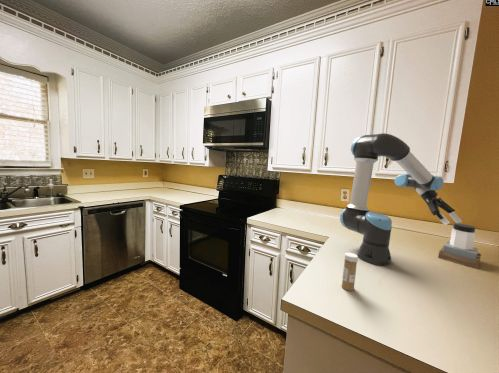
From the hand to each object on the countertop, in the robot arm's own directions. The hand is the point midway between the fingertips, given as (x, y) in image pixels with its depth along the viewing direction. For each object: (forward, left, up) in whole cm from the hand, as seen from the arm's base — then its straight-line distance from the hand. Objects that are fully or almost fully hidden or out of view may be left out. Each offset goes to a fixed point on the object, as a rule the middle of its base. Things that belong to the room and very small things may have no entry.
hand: (453, 223), depth 118 cm
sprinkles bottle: (-71, -44, -19) cm, 86 cm away
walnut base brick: (+2, -5, -19) cm, 19 cm away
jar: (+2, -4, -12) cm, 13 cm away
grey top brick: (+2, -5, -15) cm, 16 cm away
